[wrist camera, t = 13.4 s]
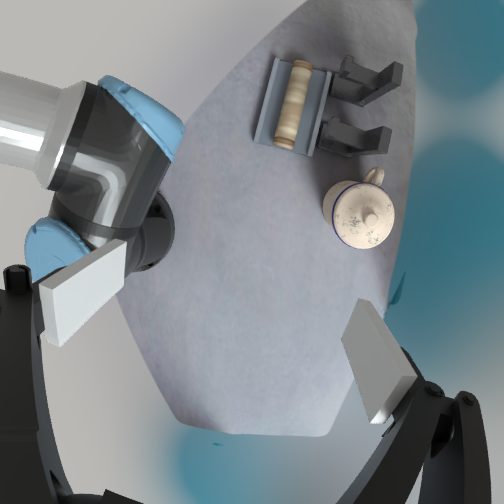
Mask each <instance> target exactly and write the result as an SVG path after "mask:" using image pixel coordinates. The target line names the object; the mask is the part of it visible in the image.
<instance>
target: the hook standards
mask: <svg viewBox="0 0 504 504" xmlns="http://www.w3.org/2000/svg"><path fill="white" fill-rule="evenodd" d="M352 61H353V57H352V56H349V55H347V56H346V57H345V59H344V60H343V61H342V63H341V67H340V72H339V74H337V73H335V74H334V77H333V82H332V86H331V91H330V95H329V96H331V97H334V98H337V99H340V100H343V101H346V102H349V103H352V104H355V105H358V106H361V107H363V106H364V105H366V104H368V103H369V102H371V101H373V100H375V99H377V98H378V97H380V96H382V95H384V94H385V93H387V92H389V91H391V90H393V89H395V88H396V87H398V86H400V85H401V79H402V72H403V65H402V64H400V63H398V62H396V61H394V62H393V63H392V64H390V65H389V66H388V67H386V68H385V69H384V70H382V71H381V72H380V73H378V72H375V71H373V70H370V69H367V68H365V67H362V66H359V65H357V64H354V63H352ZM339 121H340V119H339V118H336V117H333V118H331V119H330V120H329V121H328V124H325V123H323V125H322V129H321V133H320V137H319V141H318V145H317V148H320V149H323V150H326V151H330V152H333V153H336V154H339V155H342V156H345V157H348V158H352V156H358V155H372V154H387V151H388V147H389V143H390V138H391V133H392V129H389V128H387V127H385V126H382V127H378V128H375V129H372V130H368V131H364V130H361V129H358V128H355V127H352V126H349V125H346V124H343V123H340V122H339Z"/></svg>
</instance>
